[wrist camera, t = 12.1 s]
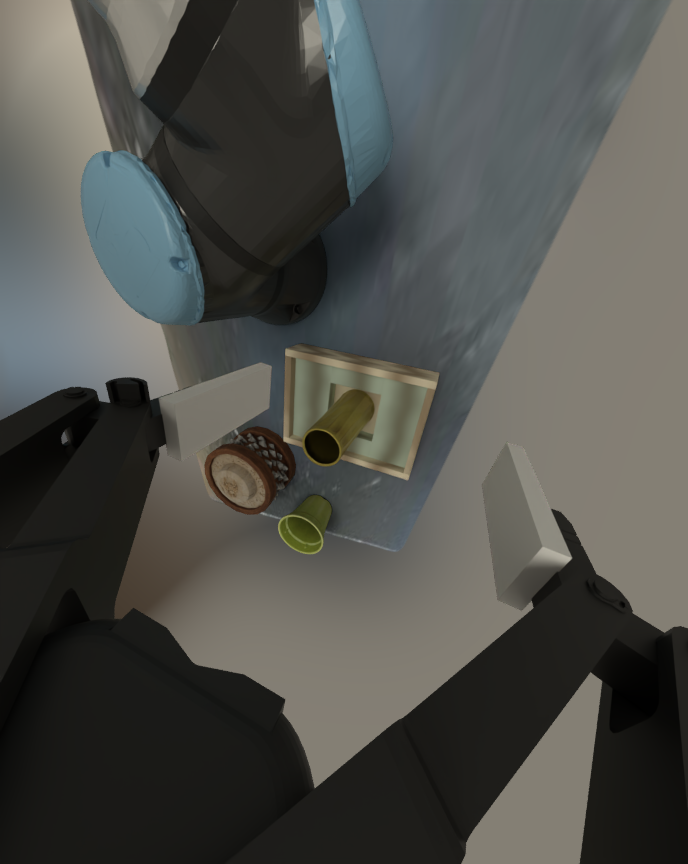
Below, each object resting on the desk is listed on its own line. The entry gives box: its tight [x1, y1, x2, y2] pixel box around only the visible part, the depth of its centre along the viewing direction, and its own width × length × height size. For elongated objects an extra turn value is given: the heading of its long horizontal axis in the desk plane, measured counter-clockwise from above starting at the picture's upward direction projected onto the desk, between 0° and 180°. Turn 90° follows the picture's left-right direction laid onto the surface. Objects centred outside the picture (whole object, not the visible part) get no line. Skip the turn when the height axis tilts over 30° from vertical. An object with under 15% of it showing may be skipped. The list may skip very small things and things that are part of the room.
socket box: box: [283, 343, 439, 480], centre depth 44 cm, size 22×16×5 cm
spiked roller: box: [205, 427, 296, 514], centre depth 54 cm, size 15×11×15 cm
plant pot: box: [278, 495, 332, 554], centre depth 56 cm, size 9×9×9 cm
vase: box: [302, 389, 374, 466], centre depth 39 cm, size 6×6×14 cm
